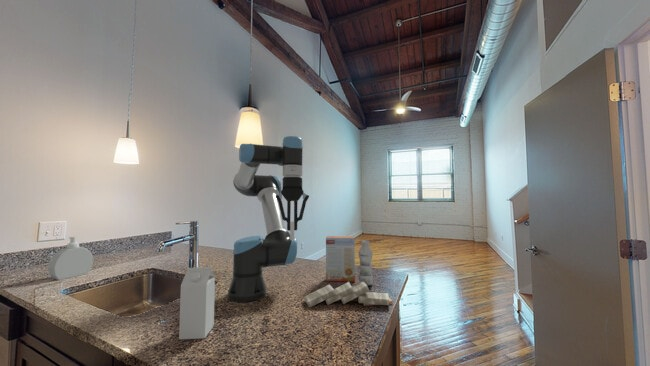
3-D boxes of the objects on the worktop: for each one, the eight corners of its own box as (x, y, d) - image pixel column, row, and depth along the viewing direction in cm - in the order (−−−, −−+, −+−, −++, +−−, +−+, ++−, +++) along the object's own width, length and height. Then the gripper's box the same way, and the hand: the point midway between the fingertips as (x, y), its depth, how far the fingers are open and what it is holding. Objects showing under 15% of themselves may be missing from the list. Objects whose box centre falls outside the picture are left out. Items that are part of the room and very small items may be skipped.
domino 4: (358, 297, 93) (388, 299, 91) (359, 291, 99) (388, 293, 96) (358, 302, 93) (389, 305, 90) (359, 296, 99) (388, 298, 96)
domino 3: (341, 299, 93) (367, 285, 95) (339, 294, 99) (363, 281, 101) (343, 304, 93) (369, 290, 94) (341, 298, 99) (365, 286, 100)
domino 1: (307, 302, 91) (334, 289, 94) (303, 296, 97) (329, 284, 100) (309, 307, 91) (336, 294, 94) (305, 301, 97) (331, 289, 100)
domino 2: (325, 300, 93) (351, 286, 95) (324, 294, 99) (348, 281, 100) (327, 305, 93) (354, 291, 94) (326, 298, 99) (350, 286, 100)
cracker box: (354, 278, 125) (354, 235, 126) (355, 282, 118) (354, 237, 120) (326, 277, 126) (326, 235, 127) (325, 281, 120) (325, 237, 121)
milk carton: (190, 327, 78) (192, 264, 79) (213, 326, 78) (215, 264, 79) (178, 340, 70) (181, 271, 72) (204, 339, 71) (206, 270, 72)
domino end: (364, 302, 93) (392, 300, 94) (360, 296, 99) (386, 294, 100) (364, 307, 93) (392, 306, 94) (360, 301, 99) (386, 299, 100)
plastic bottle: (374, 283, 116) (374, 240, 118) (371, 288, 110) (370, 242, 112) (361, 281, 119) (360, 239, 120) (357, 286, 113) (356, 241, 114)
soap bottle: (86, 271, 137) (88, 234, 138) (93, 272, 135) (94, 235, 136) (46, 280, 122) (49, 239, 123) (52, 281, 120) (55, 239, 121)
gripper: (274, 176, 91) (273, 241, 90) (310, 176, 93) (310, 240, 92) (275, 177, 99) (275, 238, 97) (308, 178, 101) (308, 237, 99)
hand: (292, 239), depth 95 cm, fingers closed
